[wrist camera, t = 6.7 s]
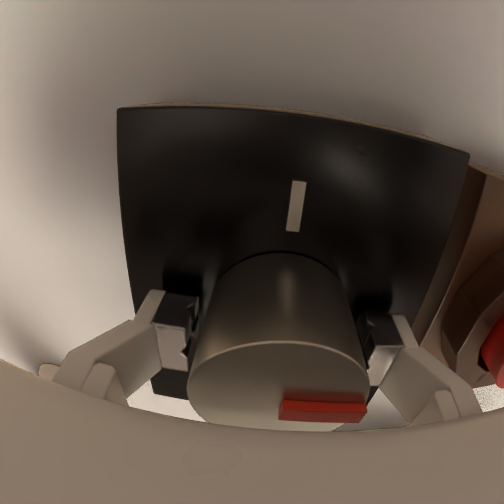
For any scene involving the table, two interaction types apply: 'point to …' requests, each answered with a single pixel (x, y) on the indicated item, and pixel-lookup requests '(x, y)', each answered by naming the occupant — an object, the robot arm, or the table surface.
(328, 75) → the table surface
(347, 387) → the knob
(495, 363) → the igniter button
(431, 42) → the table surface
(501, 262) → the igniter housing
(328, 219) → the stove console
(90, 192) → the table surface
